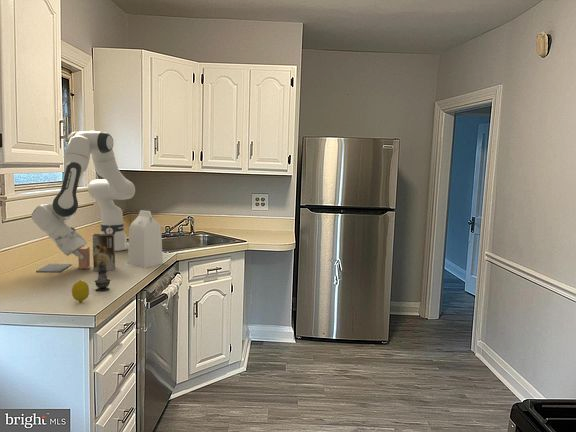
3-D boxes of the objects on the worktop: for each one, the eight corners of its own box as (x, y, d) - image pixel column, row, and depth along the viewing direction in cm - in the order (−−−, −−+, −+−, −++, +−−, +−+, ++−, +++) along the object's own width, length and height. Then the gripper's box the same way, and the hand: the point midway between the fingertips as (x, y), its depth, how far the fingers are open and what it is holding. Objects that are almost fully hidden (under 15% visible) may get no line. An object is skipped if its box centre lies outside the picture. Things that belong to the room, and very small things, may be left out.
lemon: (89, 299, 166) (88, 277, 165) (89, 303, 161) (88, 281, 160) (72, 300, 163) (71, 278, 163) (71, 305, 158) (71, 282, 158)
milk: (163, 263, 227) (163, 211, 224) (144, 267, 217) (144, 212, 214) (146, 260, 233) (146, 209, 230) (127, 263, 224) (127, 210, 221)
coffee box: (115, 267, 216) (115, 233, 214) (114, 270, 210) (114, 235, 208) (94, 267, 214) (94, 233, 212) (92, 270, 207) (92, 235, 206)
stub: (82, 266, 213) (81, 246, 212) (89, 266, 213) (89, 246, 212) (78, 268, 209) (78, 248, 207) (86, 268, 209) (86, 248, 208)
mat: (49, 265, 216) (49, 263, 216) (71, 265, 217) (71, 264, 217) (36, 272, 202) (36, 270, 202) (60, 272, 203) (60, 270, 203)
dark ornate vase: (91, 291, 176) (90, 260, 174) (100, 287, 182) (99, 257, 180) (105, 292, 175) (104, 261, 173) (113, 288, 181) (113, 258, 179)
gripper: (58, 234, 198) (82, 256, 200) (75, 227, 218) (97, 247, 220) (48, 244, 198) (72, 266, 200) (65, 236, 218) (87, 256, 220)
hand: (85, 256), depth 210 cm, fingers closed on stub, 4 cm apart
